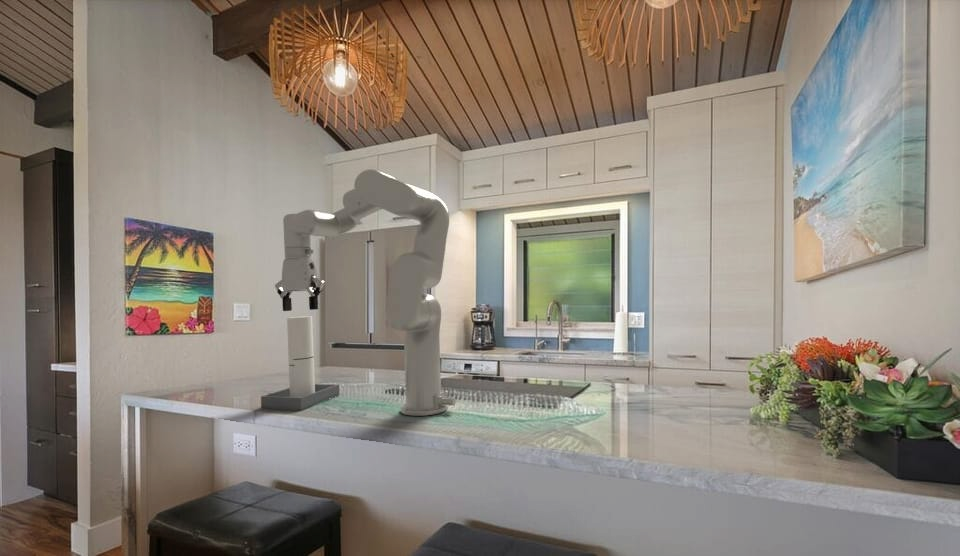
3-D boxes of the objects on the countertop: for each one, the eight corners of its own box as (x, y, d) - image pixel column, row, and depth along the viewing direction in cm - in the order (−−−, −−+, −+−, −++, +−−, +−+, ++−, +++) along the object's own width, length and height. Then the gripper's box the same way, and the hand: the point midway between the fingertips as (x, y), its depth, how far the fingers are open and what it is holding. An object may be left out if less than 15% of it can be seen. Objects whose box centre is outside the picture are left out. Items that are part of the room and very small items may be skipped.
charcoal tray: (339, 395, 146) (339, 384, 146) (301, 410, 129) (301, 398, 129) (302, 394, 150) (302, 383, 150) (261, 408, 133) (260, 396, 133)
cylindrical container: (309, 401, 136) (306, 317, 136) (285, 402, 136) (282, 318, 136) (318, 395, 143) (315, 315, 143) (296, 396, 143) (293, 316, 144)
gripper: (329, 253, 141) (332, 308, 141) (283, 257, 147) (285, 310, 146) (313, 251, 134) (316, 309, 134) (266, 256, 139) (268, 312, 139)
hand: (300, 310), depth 140 cm, fingers open, 9 cm apart
